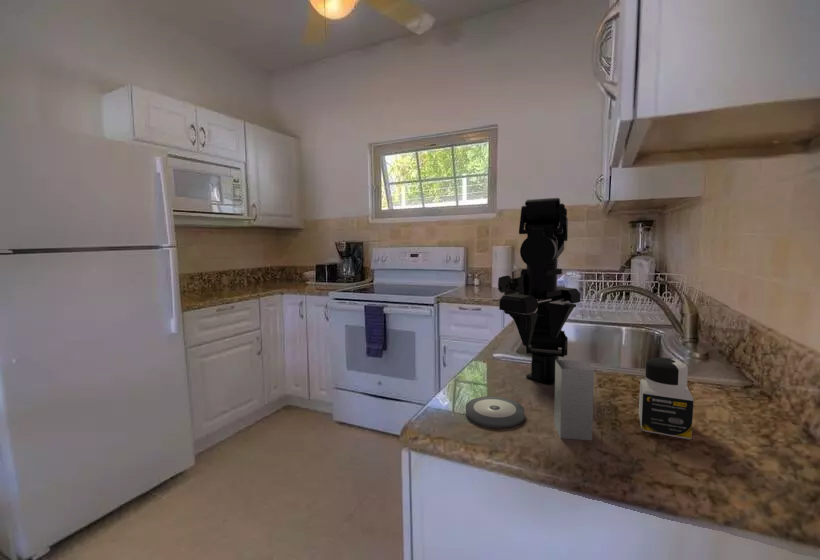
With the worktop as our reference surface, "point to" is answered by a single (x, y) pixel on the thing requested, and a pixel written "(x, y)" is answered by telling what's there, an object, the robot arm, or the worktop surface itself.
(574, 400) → the block
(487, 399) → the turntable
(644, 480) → the worktop surface
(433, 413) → the worktop surface
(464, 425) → the worktop surface
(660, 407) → the medicine bottle
